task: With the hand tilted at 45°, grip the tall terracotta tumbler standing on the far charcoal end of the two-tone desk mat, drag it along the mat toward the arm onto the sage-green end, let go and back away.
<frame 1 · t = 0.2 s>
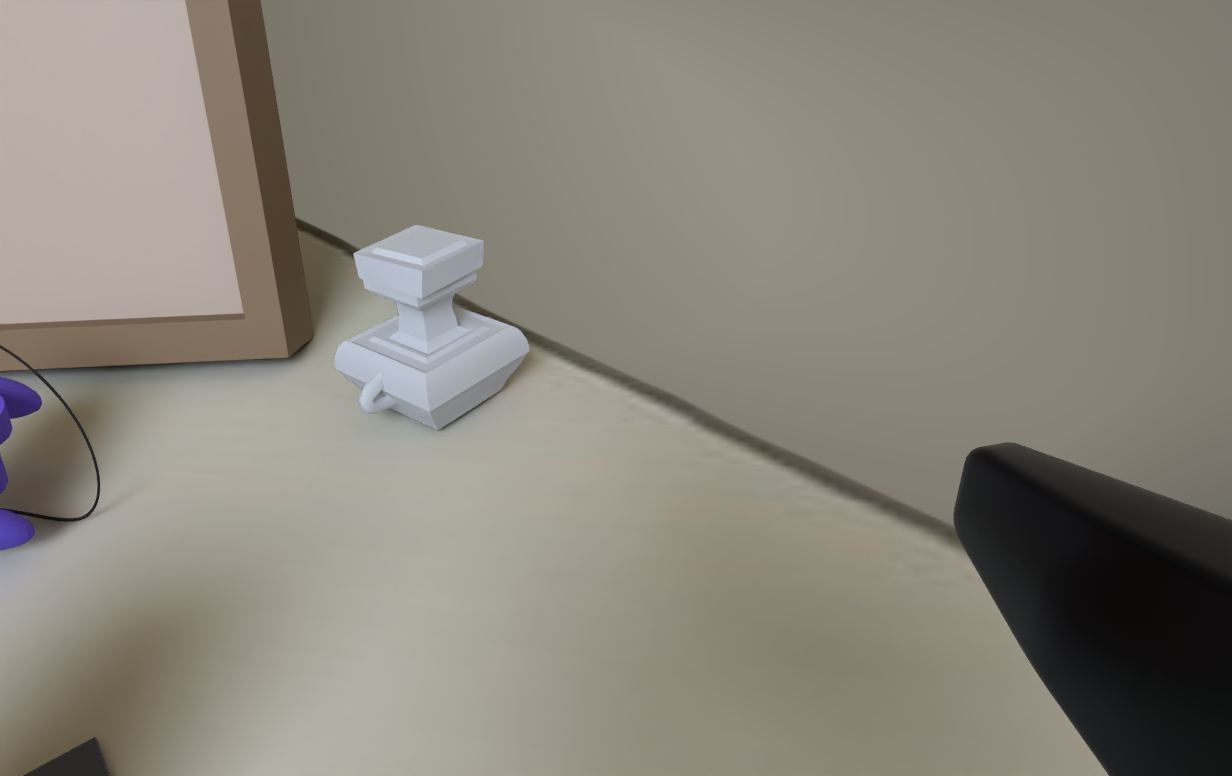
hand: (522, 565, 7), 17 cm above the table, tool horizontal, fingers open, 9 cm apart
photo frame: (146, 322, 49), on the table
stamp: (441, 405, 41), on the table
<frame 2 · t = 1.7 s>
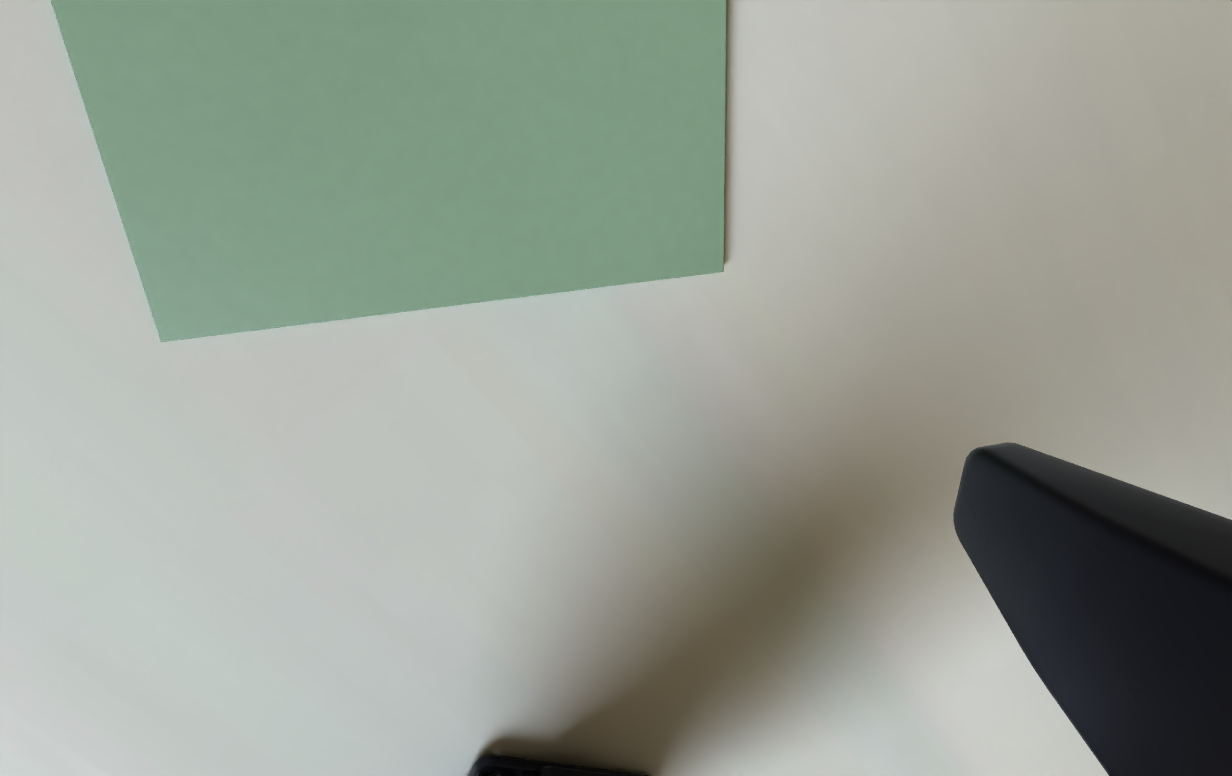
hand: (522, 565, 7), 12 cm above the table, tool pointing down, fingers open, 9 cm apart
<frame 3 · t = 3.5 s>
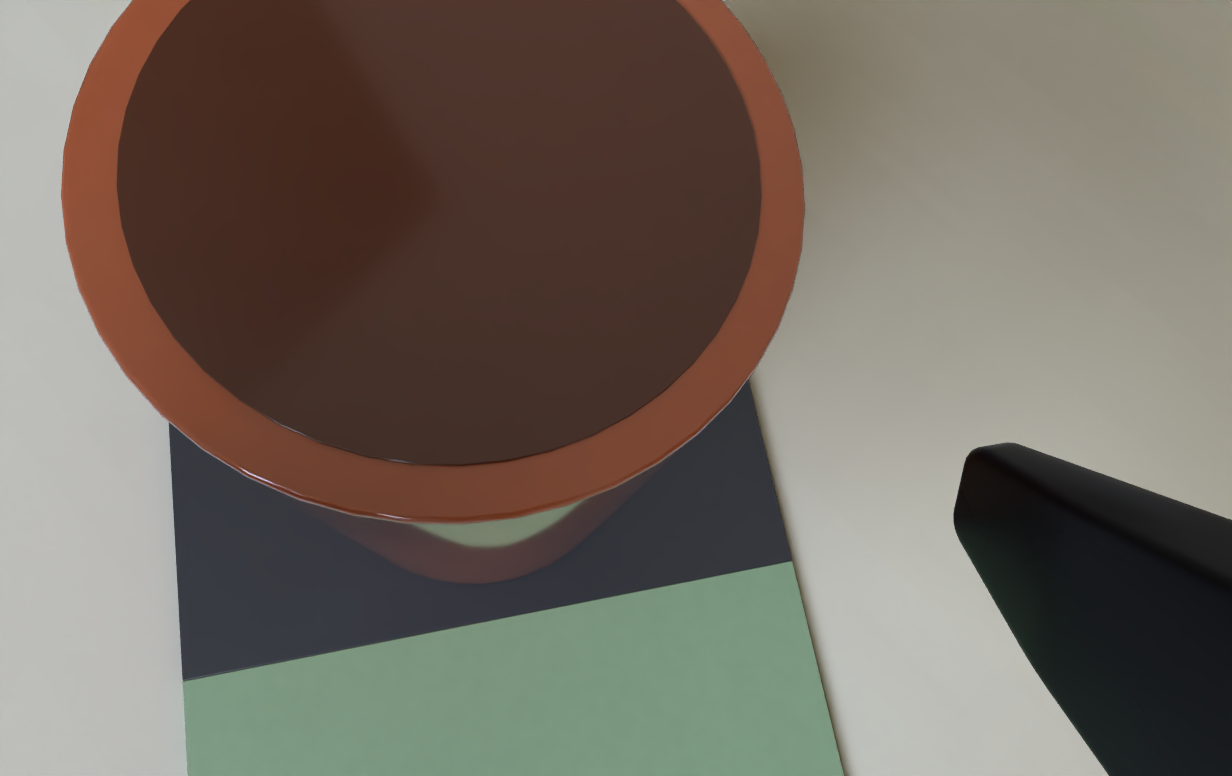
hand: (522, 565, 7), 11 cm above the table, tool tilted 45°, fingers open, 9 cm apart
desk mat: (508, 616, 17), on the table
tumbler: (479, 423, 18), resting on desk mat
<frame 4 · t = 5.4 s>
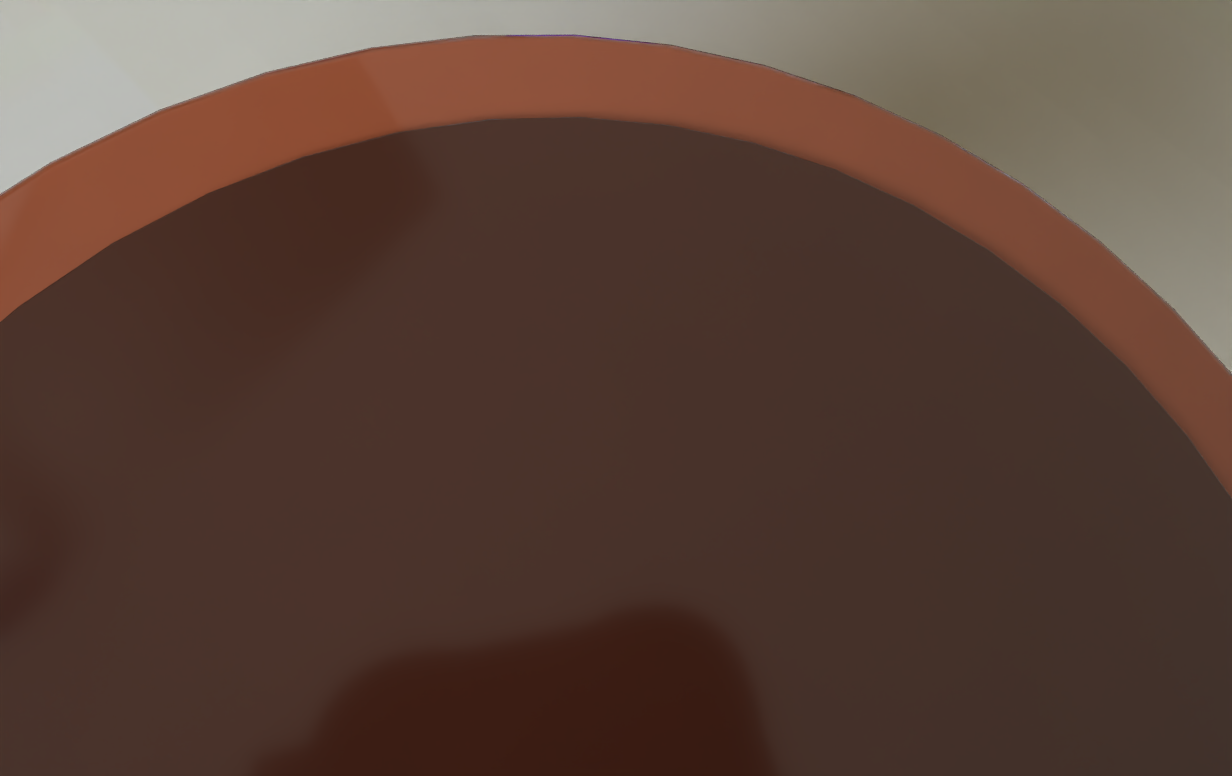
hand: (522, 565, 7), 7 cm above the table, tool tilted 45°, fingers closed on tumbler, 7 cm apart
tumbler: (521, 676, 13), resting on desk mat, touching gripper
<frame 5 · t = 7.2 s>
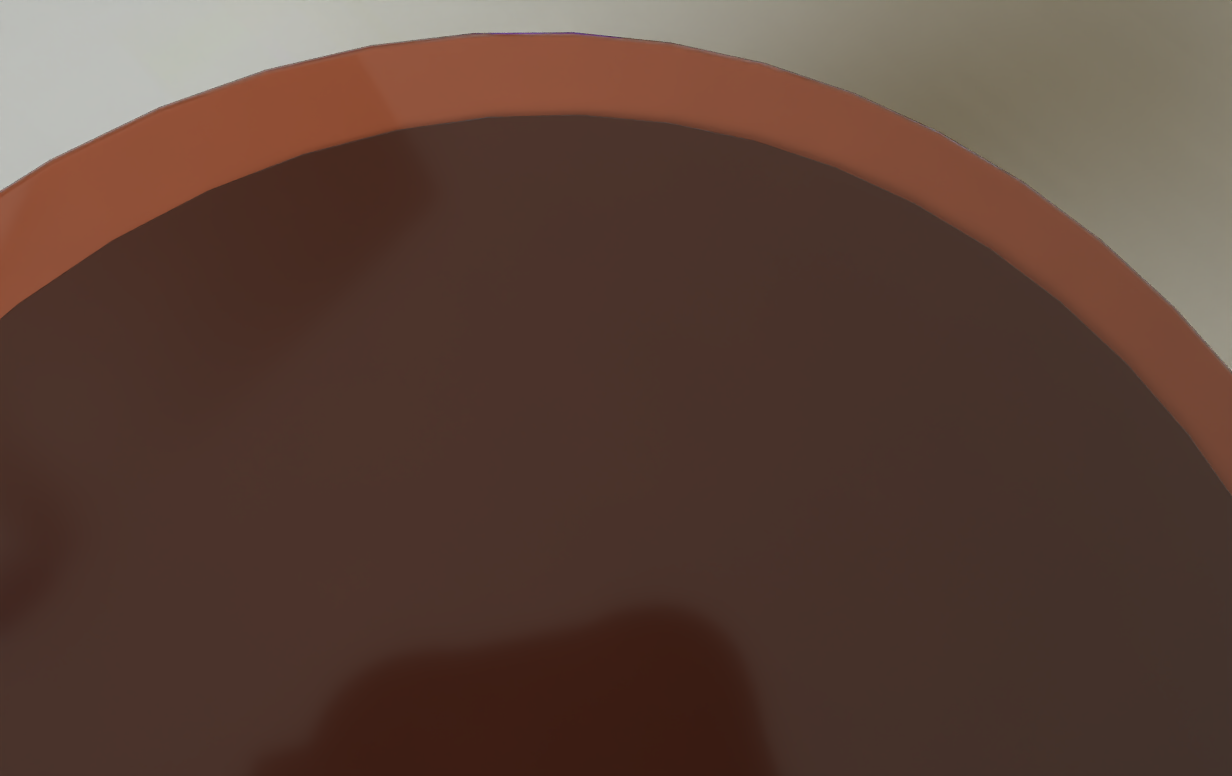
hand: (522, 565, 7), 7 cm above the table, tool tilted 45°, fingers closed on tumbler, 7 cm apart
tumbler: (521, 675, 13), resting on desk mat, touching gripper
when the fingers open (7 cm above the table, at t = 8.9 s): tumbler stays where it is, resting on desk mat.
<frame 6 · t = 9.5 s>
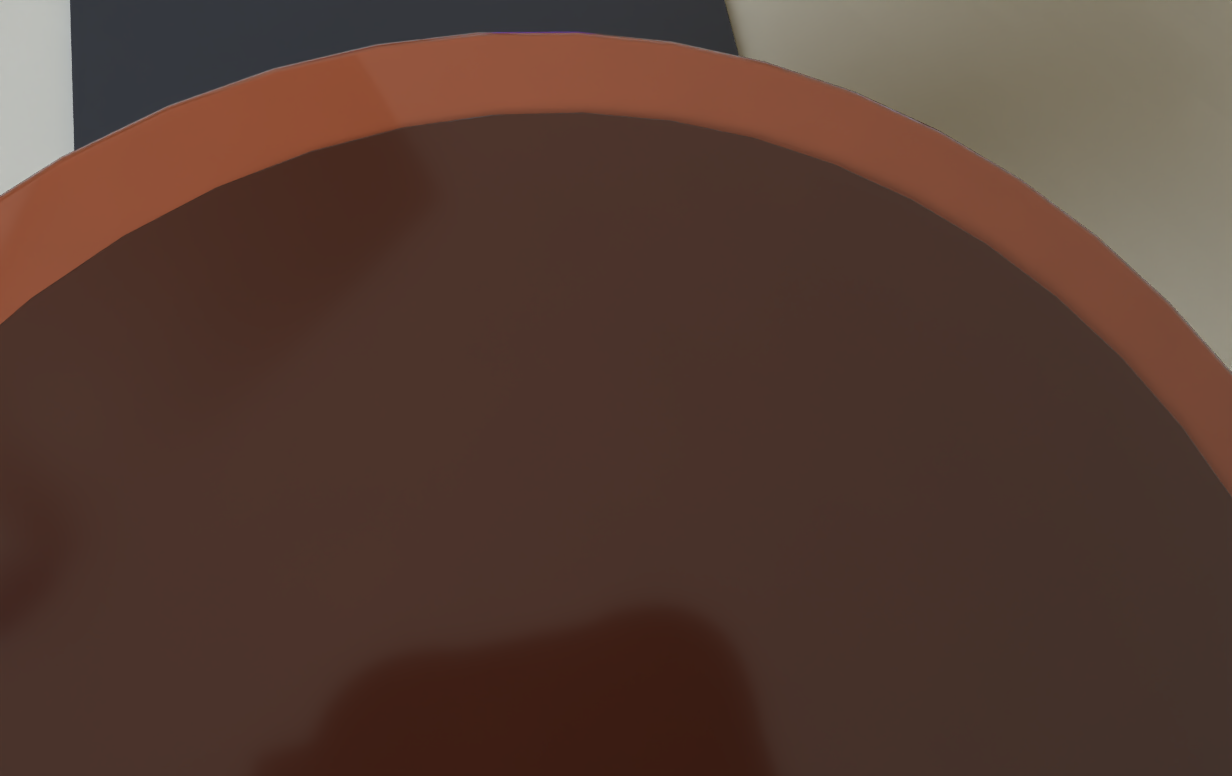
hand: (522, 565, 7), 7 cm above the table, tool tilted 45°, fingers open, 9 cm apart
desk mat: (485, 432, 15), on the table
tumbler: (522, 673, 13), resting on desk mat
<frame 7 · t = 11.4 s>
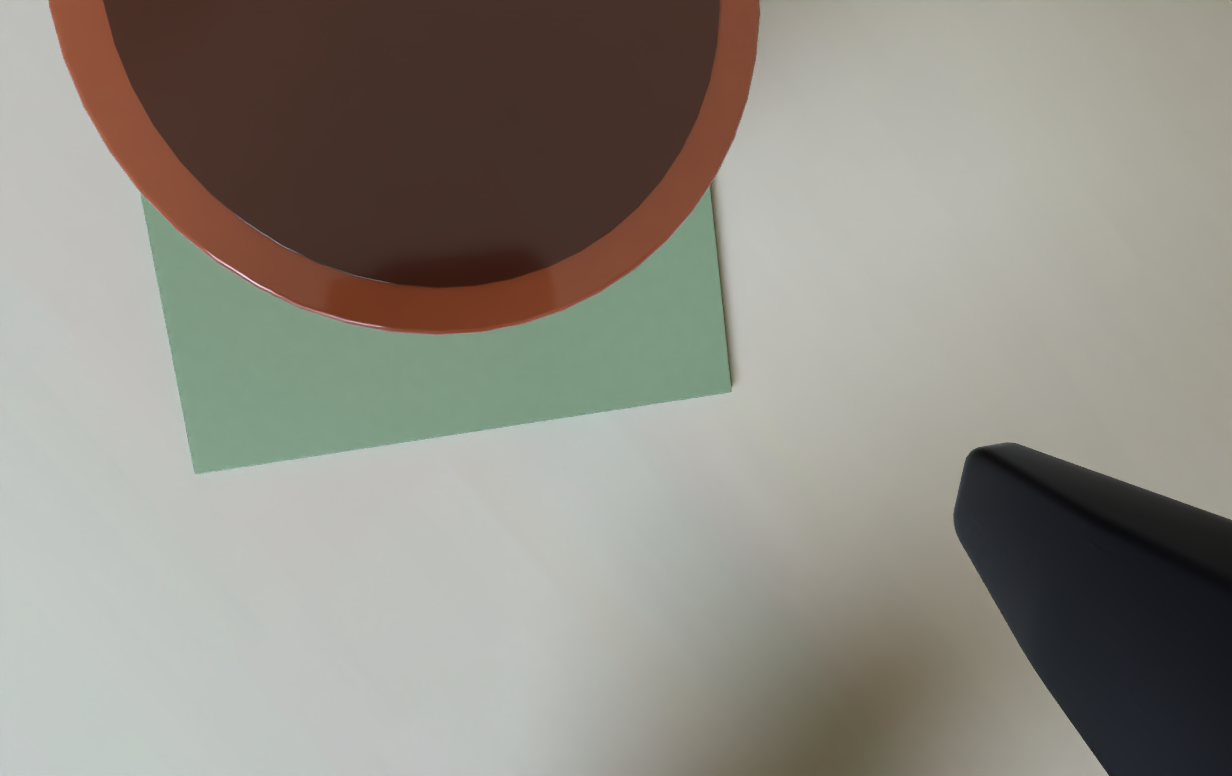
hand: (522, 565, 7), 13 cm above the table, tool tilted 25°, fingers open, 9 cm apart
tumbler: (440, 164, 19), resting on desk mat
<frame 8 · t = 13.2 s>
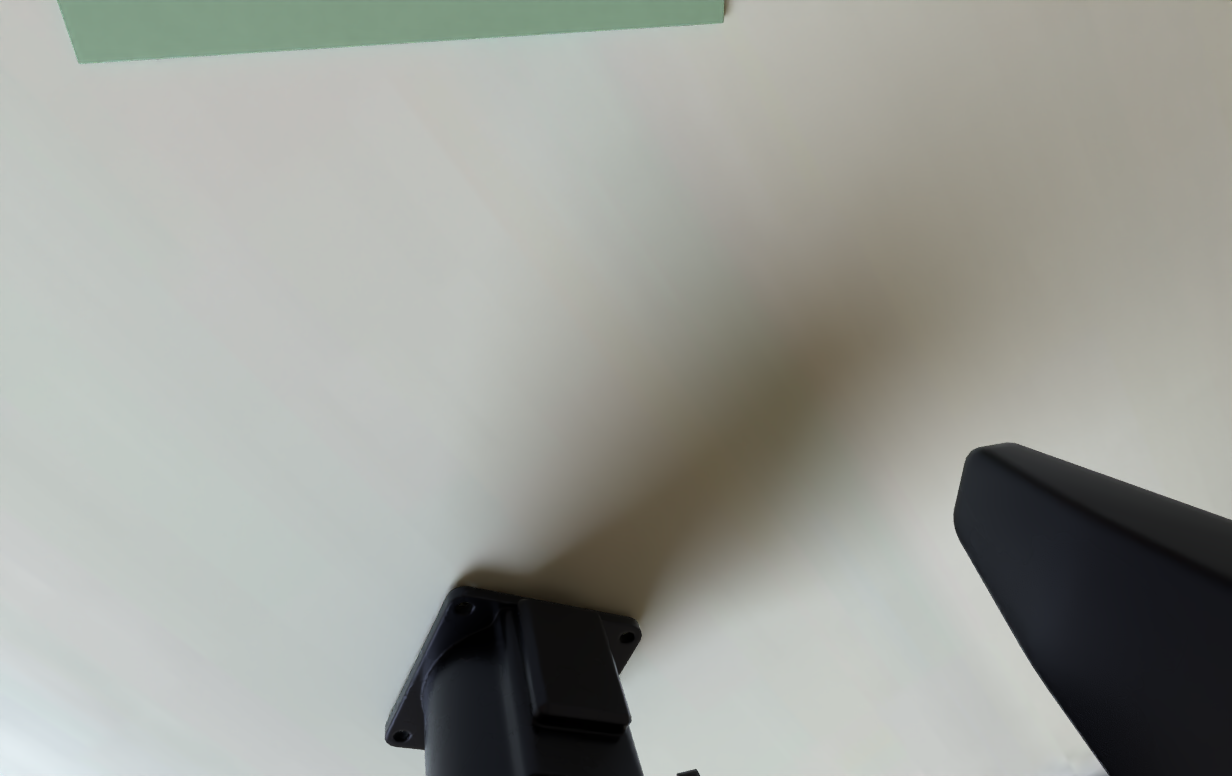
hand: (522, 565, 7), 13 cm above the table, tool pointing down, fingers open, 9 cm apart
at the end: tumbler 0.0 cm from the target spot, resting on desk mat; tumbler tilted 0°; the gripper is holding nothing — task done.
